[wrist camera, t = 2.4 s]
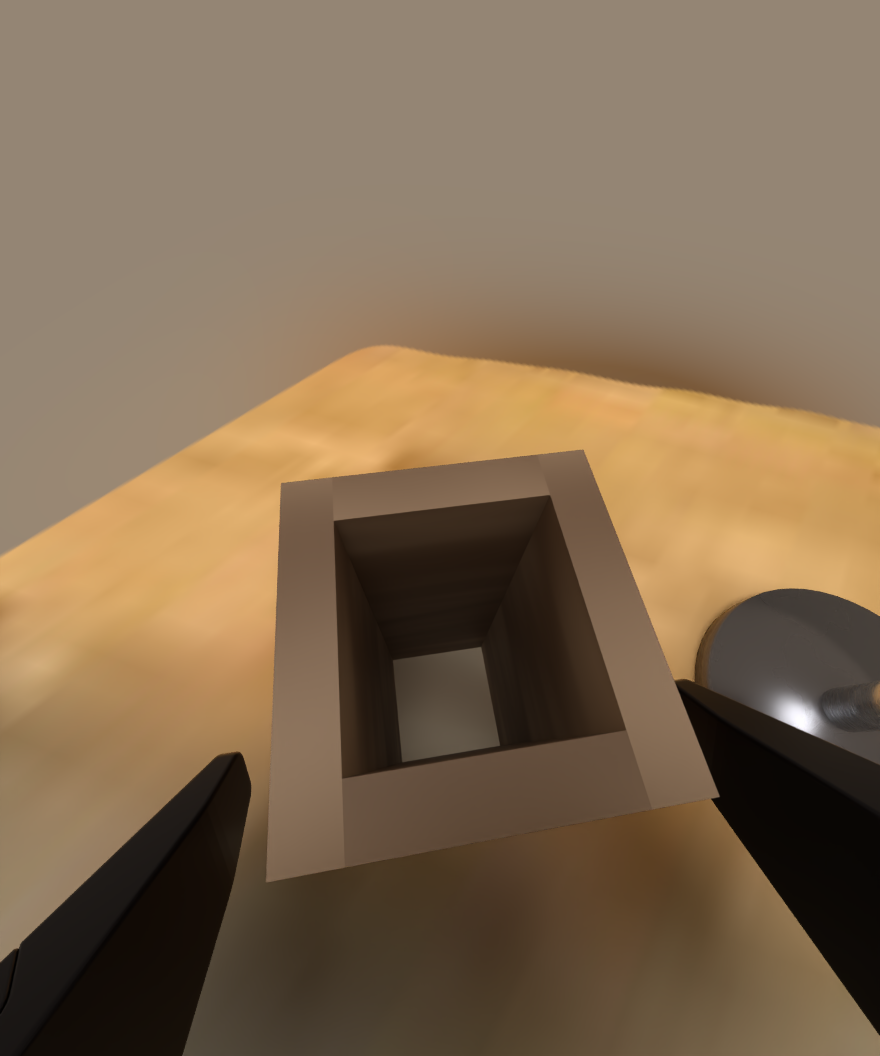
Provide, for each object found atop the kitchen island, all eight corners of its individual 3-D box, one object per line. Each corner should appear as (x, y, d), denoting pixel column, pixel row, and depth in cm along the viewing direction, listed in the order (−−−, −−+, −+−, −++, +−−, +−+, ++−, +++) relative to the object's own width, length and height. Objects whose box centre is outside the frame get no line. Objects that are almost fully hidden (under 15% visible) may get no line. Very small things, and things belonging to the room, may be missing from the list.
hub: (997, 734, 17) (1192, 727, 13) (885, 940, 14) (1092, 1025, 10) (774, 558, 21) (865, 505, 16) (646, 691, 18) (717, 670, 13)
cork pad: (564, 798, 16) (568, 799, 15) (351, 837, 15) (349, 840, 15) (515, 597, 20) (517, 594, 19) (343, 621, 19) (341, 618, 18)
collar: (528, 768, 16) (720, 797, 5) (380, 794, 15) (265, 883, 5) (497, 623, 18) (583, 449, 8) (370, 642, 18) (281, 483, 7)
